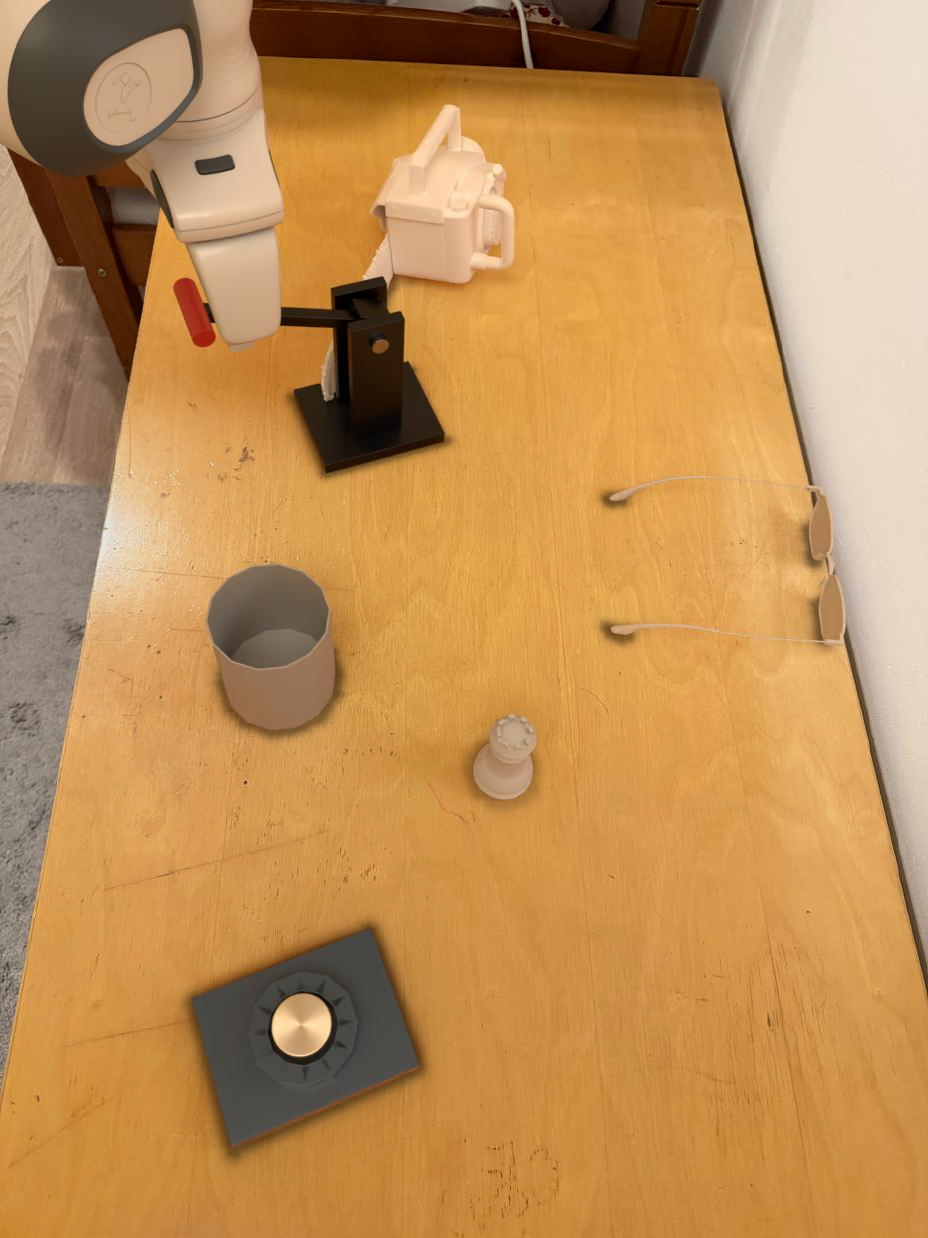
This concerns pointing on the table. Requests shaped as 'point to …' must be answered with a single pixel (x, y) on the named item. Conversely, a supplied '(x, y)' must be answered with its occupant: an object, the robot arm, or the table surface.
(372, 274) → the chainsaw
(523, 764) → the rook chess piece
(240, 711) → the cup
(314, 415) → the press bracket
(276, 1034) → the gold dial knob
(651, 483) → the eyeglasses
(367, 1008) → the button block
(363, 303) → the press lever
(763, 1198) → the table surface
